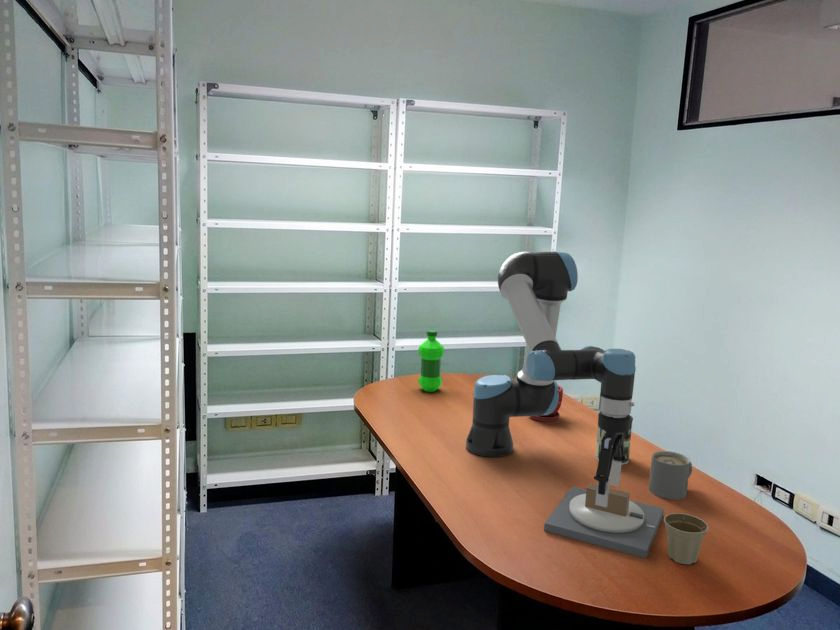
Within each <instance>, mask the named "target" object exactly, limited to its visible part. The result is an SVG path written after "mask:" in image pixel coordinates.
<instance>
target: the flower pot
mask: <svg viewBox="0 0 840 630" xmlns="http://www.w3.org/2000/svg"><path fill="white" fill-rule="evenodd" d="M663 522H664V525H665V529H666V542H667V556H668V558H669V559H670V560H671V559H672V560H673V561H674V562H675V563H677V564H683V565H687V566H688V565H691V564H696V563H697V562H698V559H699V554H700V551H701V547H702V542H703V539H704V537H706V536H705V535H706V533H707V532H708V531H709V525H708V523H707V522H706V521H704V520H703V519H702V518H699V517H698V516H695V515H692V514H688V513H681V512H671V513H668V514H666V515H664V516H663Z"/></svg>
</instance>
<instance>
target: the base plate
mask: <svg viewBox="0 0 840 630" xmlns="http://www.w3.org/2000/svg"><path fill="white" fill-rule="evenodd" d="M581 494H586V489H584V488H580V487H577V486H576V487H575V486H571V487H570V489H569V490H568V491H567V492H566V494H565V495H564V497H563V498H562V499H561V500H560V502H559V503H558V505H557V506H556V507H555V509H554V510H553V511H552V512H551V514H549V517H548V518H546V520H545V522H544V524H543V531H545V532H547V533H552V534H556V535H559V536H563V537H566V538H570V539H573V540H577V541H582V542H584V543H587V544H590V545H591V544H592V545H595V546H597V547H602V548H605V549H609V550H613V551H617V552H620V553H624V554H627V555H632V556H635V557H638V558H642V559H645V560H646V559H647V558H648V556H649V553H650V550H651V549H652V548H651V547H652V545H653V543H654V540H655V537H656V534H657V532H658V530H659V527H660V524H661V522H662V519H663V518H664V511H665V510H664V509H665V508H664V507H661V506H657V505H656V506H655V505H651V504H647V503H643V502H638V501H635V500H632V499H629V501H631V502H633V503H635V504H636V505H638V506H639V507H640V508H641V509H642V510H643V512H644V523H643V525H642V527H640V528H639V529H637V530H635V531H632V532H626V533H611V532H604V531H599V530H595V529H592V528H589V527H587V526H584V525H582V524H581V523H579V522H577V521H576V520H575V519H574V518H573V517H572V516H571V514H570V512H569V506H570V501H571V500H572V499H573V498H574V497H576V496H578V495H581Z"/></svg>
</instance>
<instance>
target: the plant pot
mask: <svg viewBox="0 0 840 630" xmlns="http://www.w3.org/2000/svg"><path fill="white" fill-rule="evenodd" d="M558 389H559V391H558V393H559V399H558V404H557V406H556V408H555V410H554V411H553V412H552V413H551V414H549V415H542V416H529V418H531V419H533V420H535V421H539V422H548V423H550V422H552V421H553V422H554V421H556V420H558V419H559V418H560V412H559V410H560V409H561V407H562V406H561V405H562V401H563V393H564V388H563V387H562V386H560V385H558Z"/></svg>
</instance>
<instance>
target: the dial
mask: <svg viewBox="0 0 840 630" xmlns="http://www.w3.org/2000/svg"><path fill="white" fill-rule="evenodd" d="M585 490H586V494H581V495H578V496H576V497H574V498H573V499H572V500H571V501H570V506H569V512H570V514H571V516H572V517H573V518H574V519H575V520H576V521H577V522H579V523H581V524H582V525H584V526H587V527H589V528H592V529H595V530H599V531H604V532H611V533H626V532H632V531H635V530H637V529H639V528H640V527H642V525H643V523H644V512H643V510H642V509H641V508H640V507H639V506H638V505H636V504H635V503H633V502H631V501H632V500H631V501H629V500H630V496H631V493H630V492H627V491H622V490H619V489H615V488H611V487H609V493H608V505H607V507H603V506H599V505H595V502H596V490H597V484H593V483H589V484H588V485H587V486H586V489H585Z"/></svg>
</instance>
